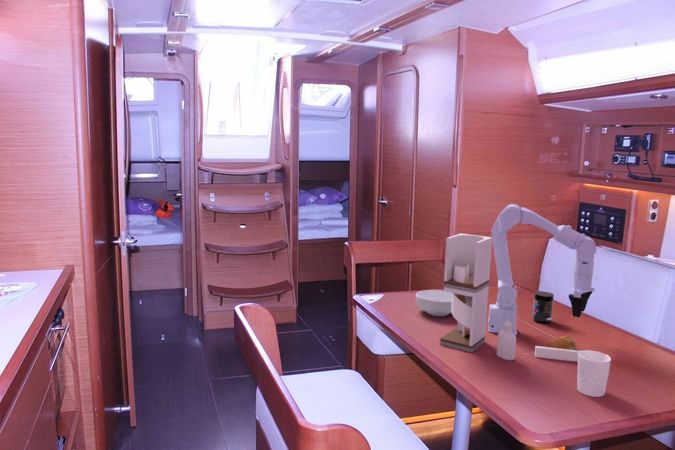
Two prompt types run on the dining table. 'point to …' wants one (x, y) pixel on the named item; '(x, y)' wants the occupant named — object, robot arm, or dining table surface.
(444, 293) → the cereal bowl
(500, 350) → the eye dropper bottle
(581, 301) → the robot arm
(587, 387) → the white cup
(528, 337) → the dining table surface
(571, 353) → the white rectangular bar
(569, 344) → the pastry
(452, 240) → the display case
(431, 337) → the dining table surface
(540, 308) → the supplement container
